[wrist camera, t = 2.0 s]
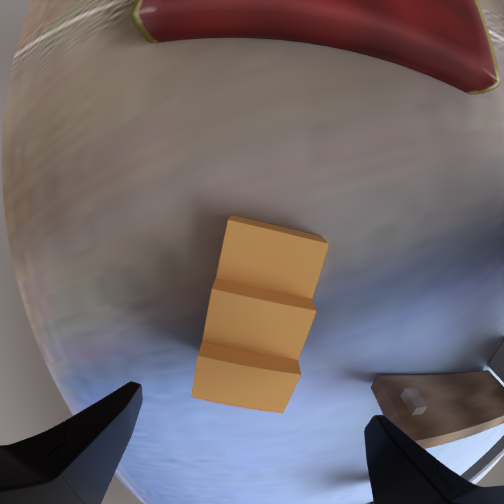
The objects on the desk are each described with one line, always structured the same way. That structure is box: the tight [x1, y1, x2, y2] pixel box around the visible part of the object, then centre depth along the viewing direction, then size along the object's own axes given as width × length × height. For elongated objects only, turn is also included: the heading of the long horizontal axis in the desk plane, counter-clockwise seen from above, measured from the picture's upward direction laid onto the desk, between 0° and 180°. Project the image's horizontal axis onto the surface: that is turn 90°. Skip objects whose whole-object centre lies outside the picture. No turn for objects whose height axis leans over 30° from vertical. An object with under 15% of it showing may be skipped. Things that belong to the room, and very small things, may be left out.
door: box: [371, 370, 504, 449], centre depth 14 cm, size 15×2×7 cm, turn 79°
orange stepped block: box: [191, 215, 329, 413], centre depth 14 cm, size 9×5×4 cm, turn 167°
